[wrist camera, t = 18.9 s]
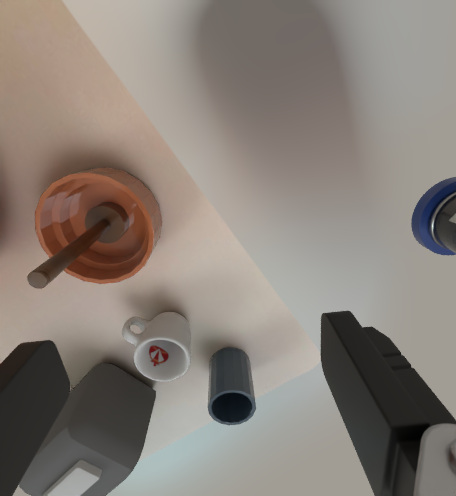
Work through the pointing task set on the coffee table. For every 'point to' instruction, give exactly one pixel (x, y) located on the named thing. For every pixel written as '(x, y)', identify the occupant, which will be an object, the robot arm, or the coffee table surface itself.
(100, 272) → the mixing bowl
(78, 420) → the alarm clock
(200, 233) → the coffee table surface
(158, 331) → the cup
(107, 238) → the wooden plunger
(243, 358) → the utensil crock
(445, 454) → the robot arm
